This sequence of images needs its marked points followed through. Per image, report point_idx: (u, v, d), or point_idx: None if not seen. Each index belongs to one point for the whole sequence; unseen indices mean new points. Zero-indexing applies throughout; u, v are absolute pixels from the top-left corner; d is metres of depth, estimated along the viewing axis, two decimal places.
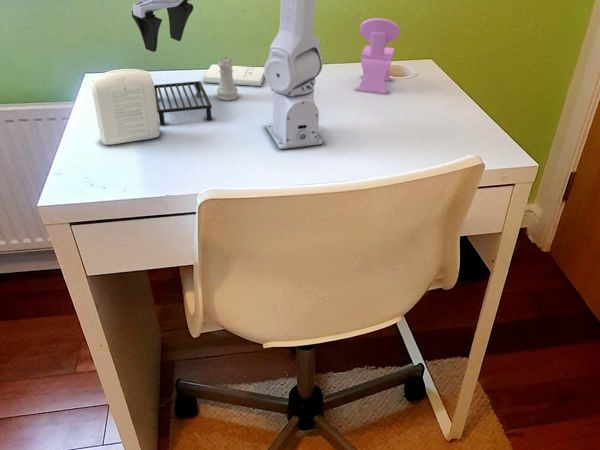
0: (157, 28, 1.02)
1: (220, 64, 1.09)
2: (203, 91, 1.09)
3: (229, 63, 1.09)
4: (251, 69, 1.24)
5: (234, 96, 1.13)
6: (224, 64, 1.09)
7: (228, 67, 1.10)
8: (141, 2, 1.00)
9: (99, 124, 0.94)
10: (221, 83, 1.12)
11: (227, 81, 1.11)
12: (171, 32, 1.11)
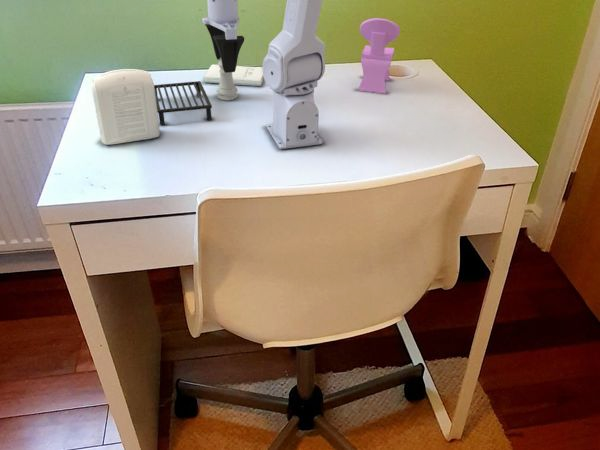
0: None
1: (220, 64, 1.09)
2: (203, 91, 1.09)
3: None
4: (251, 69, 1.24)
5: (234, 96, 1.13)
6: None
7: None
8: None
9: (99, 124, 0.94)
10: (221, 83, 1.12)
11: (227, 81, 1.11)
12: (217, 53, 1.12)
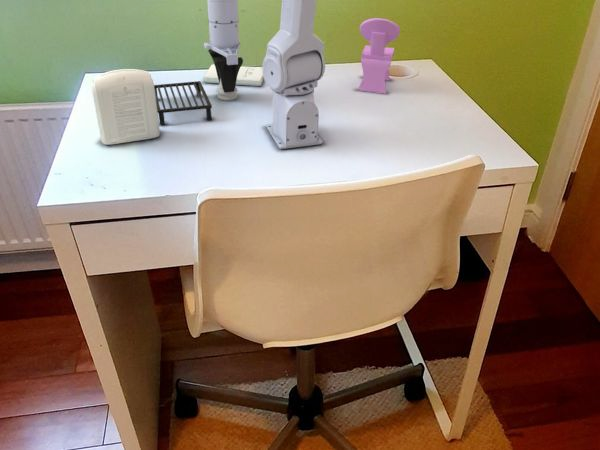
0: None
1: None
2: (203, 91, 1.09)
3: None
4: (251, 69, 1.24)
5: (234, 96, 1.13)
6: None
7: None
8: None
9: (99, 124, 0.94)
10: (221, 83, 1.12)
11: None
12: None
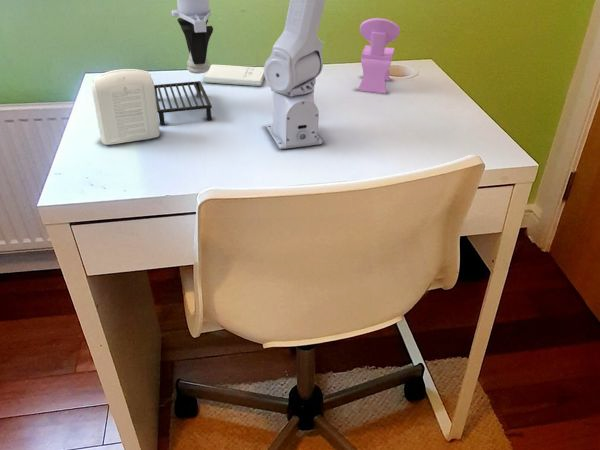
0: None
1: None
2: (203, 91, 1.09)
3: None
4: (251, 69, 1.24)
5: (205, 69, 1.06)
6: None
7: None
8: (192, 19, 0.97)
9: (99, 124, 0.94)
10: None
11: None
12: None
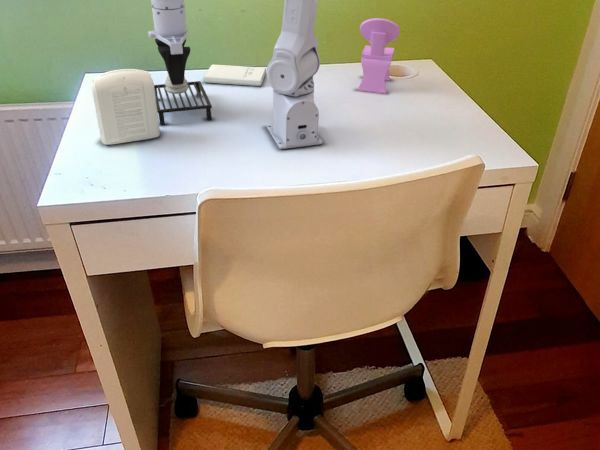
0: None
1: None
2: (203, 91, 1.09)
3: None
4: (251, 69, 1.24)
5: (184, 89, 1.05)
6: None
7: None
8: None
9: (99, 124, 0.94)
10: None
11: None
12: None
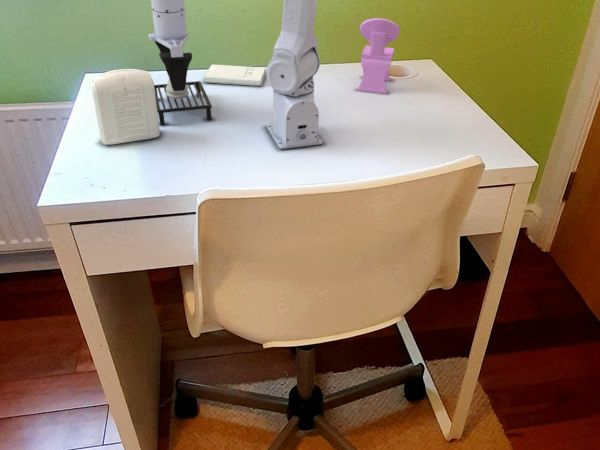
0: None
1: None
2: (203, 91, 1.09)
3: None
4: (251, 69, 1.24)
5: (184, 94, 1.06)
6: None
7: None
8: (168, 43, 0.96)
9: (99, 124, 0.94)
10: (169, 80, 1.04)
11: None
12: None
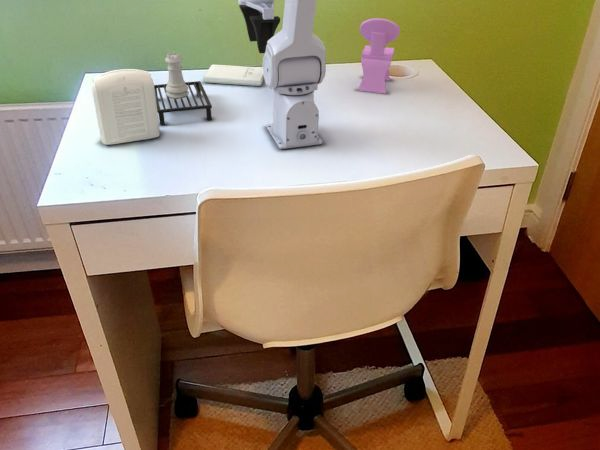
0: None
1: (167, 60, 1.02)
2: (203, 91, 1.09)
3: (177, 59, 1.02)
4: (251, 69, 1.24)
5: (184, 94, 1.06)
6: (171, 60, 1.01)
7: (176, 63, 1.02)
8: None
9: (99, 124, 0.94)
10: (169, 80, 1.04)
11: (175, 78, 1.04)
12: (250, 35, 1.14)
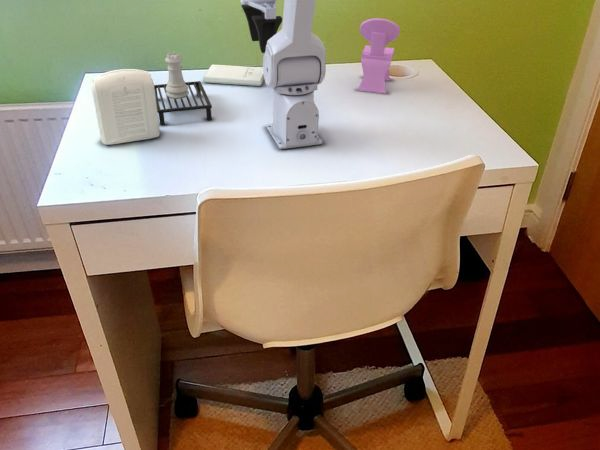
0: None
1: (167, 60, 1.02)
2: (203, 91, 1.09)
3: (177, 59, 1.02)
4: (251, 69, 1.24)
5: (184, 94, 1.06)
6: (171, 60, 1.01)
7: (176, 63, 1.02)
8: None
9: (99, 124, 0.94)
10: (169, 80, 1.04)
11: (175, 78, 1.04)
12: (253, 35, 1.14)
